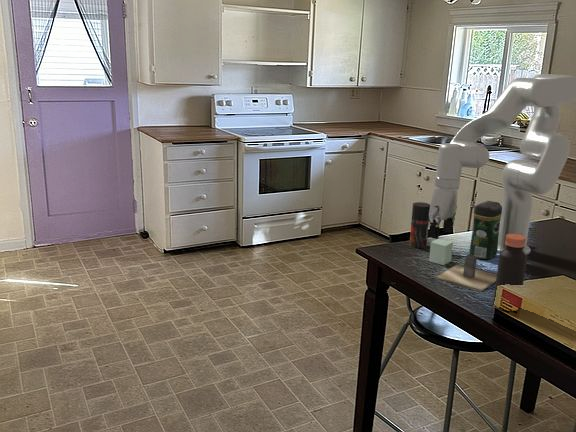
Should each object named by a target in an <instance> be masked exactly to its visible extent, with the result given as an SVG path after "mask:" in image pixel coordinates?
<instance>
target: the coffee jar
mask: <svg viewBox="0 0 576 432" xmlns="http://www.w3.org/2000/svg"><path fill="white" fill-rule="evenodd" d="M501 215H502V204H500V202H497V201H492V200H486V201H484V202H481V203H478V204H476V205H474V208H473V223H472V224H473V225H472V233H471V240H470V245H469V251H468V252H469V254H470V255H474V256H477V260H491V259H493V258H494V257H496V256H497V254H498V252H497V249H498V236H499V226H500V220H501ZM469 254H468V255H469Z"/></svg>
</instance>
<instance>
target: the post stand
mask: <svg viewBox="0 0 576 432" xmlns="http://www.w3.org/2000/svg"><path fill="white" fill-rule="evenodd" d="M477 260H478V258H477V256H474V255H470V254H467V255H465V257H464V265H462V264H458V263H457V264H455V265H453V266H452V267H451V268H449V269H447V270H446V271H444V272H442V273H440V274H439V275H436V279H437V280H442V281H445V282H448V283H451V284H455V285H458V286H462V287H464V288H468V289H471V290H474V291H479V292H483V291H484V290H485V289H486V290H487V288H489V287H490V286H491V285H493V284H494V283H496V278H497V273H496V274H495V273H491V272H489V271H484V270H480V269H476V268H477Z"/></svg>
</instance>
